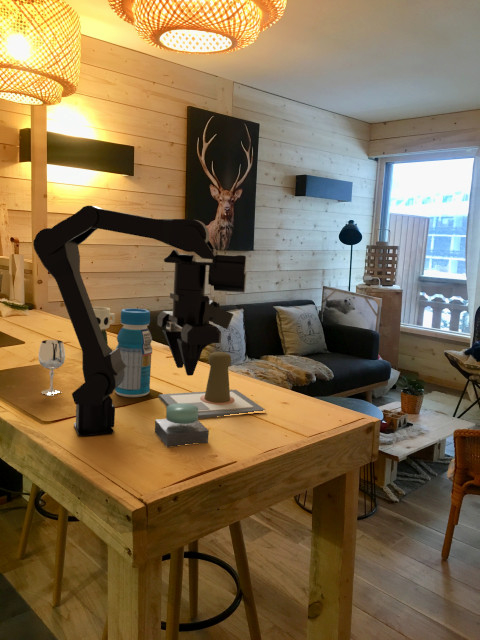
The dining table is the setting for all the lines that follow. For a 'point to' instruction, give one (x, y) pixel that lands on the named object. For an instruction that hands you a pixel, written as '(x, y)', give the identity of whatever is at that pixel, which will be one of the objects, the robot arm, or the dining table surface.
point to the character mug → (104, 319)
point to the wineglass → (51, 359)
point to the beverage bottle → (135, 352)
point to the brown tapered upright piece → (218, 378)
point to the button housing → (181, 432)
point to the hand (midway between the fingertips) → (184, 371)
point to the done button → (182, 413)
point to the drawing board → (213, 403)
